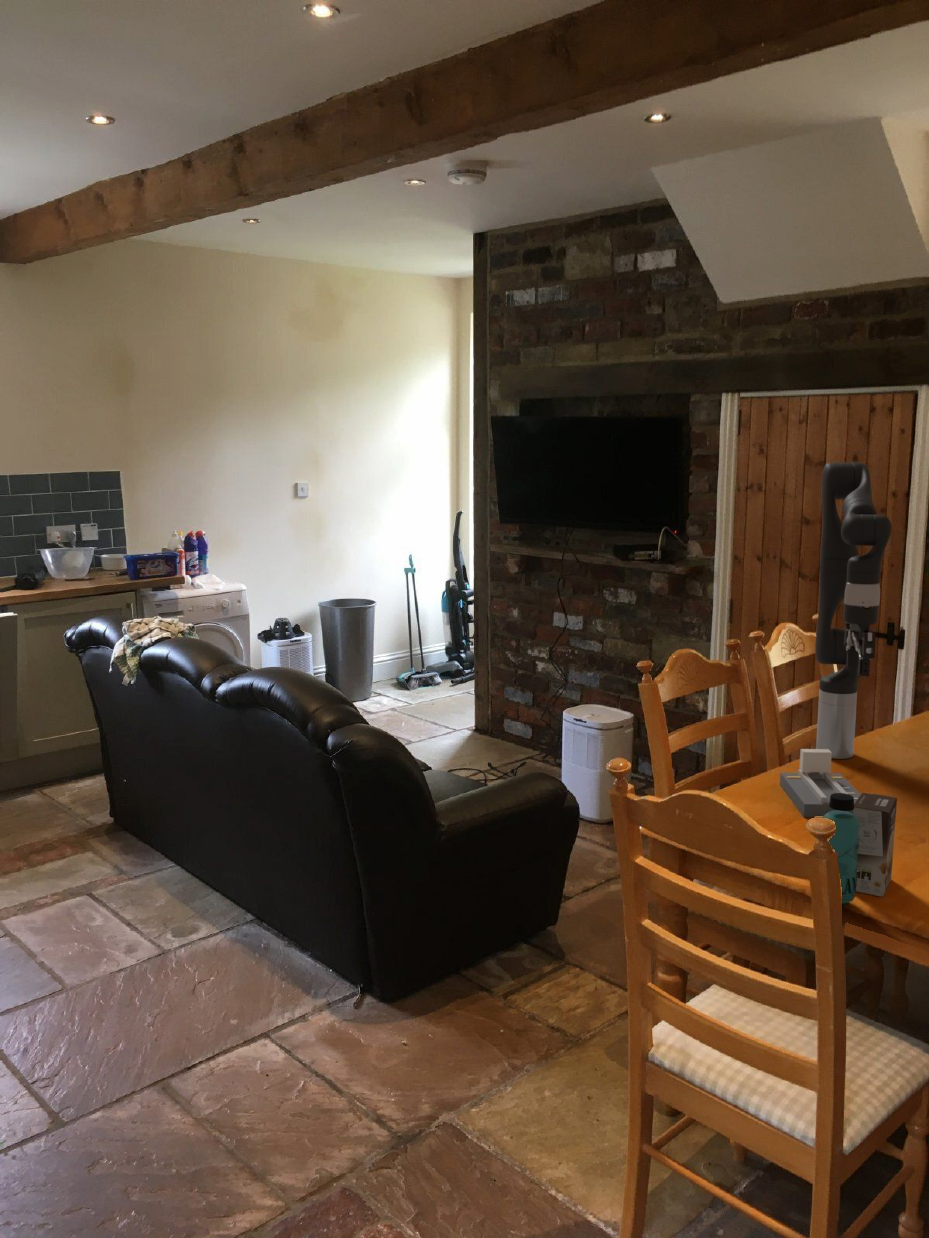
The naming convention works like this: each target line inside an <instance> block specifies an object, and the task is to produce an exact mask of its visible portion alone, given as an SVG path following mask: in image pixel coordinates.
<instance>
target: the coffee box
mask: <svg viewBox="0 0 929 1238" xmlns="http://www.w3.org/2000/svg"><path fill="white" fill-rule="evenodd" d="M860 794H861V795H860V797H859V798H858V799H857V801H856V802H855V804H854V810H853V815H854V816H855V817H856V818H857V819H858V820H859V822H860V825H859V839H858V842H859V845H858V846H859V847H858V848H859V849H858V851H859V853H858V856H857V860H858V861H857V867H858V868H857V869H858V870H857V871H858V872H857V882H856V883H857V886H856V891H855V893H863V894H866V895H871V896H877V897H884V895H885V893H886V892H887V888H888V886H890V882H891V881H892V876H893V860H894V846H895V844H894V843H895V831H896V820H897V819H896V818H897V804H898V797H894V796H889V795H883V794H876V793H866V792H861V793H860Z"/></svg>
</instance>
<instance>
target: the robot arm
mask: <svg viewBox="0 0 929 1238" xmlns="http://www.w3.org/2000/svg"><path fill="white" fill-rule="evenodd" d="M870 473H871V472H870V470H869V467H868V466H867V465H866V464H865V463H862V462H828V463H826V464H825V465H824V467H823V470H822V475H821V505H822V506H821V510H822V511H821V512H822V513H821V515H822V516H821V517H822V519H821V520H822V522H821V523H822V527H821V542H820V543H821V544H820V555H819V556H820V559H819V601H818V602H819V604H818V613H817V615H818V616H817V623H816V624H817V625H816V632H815V633H816V634H815V635H816V636H815V647H814V651H815V658H816V661H817V662H818V663H819V664H822V665H842V666H843V667H841V668H840V669H839V670H838V671H836V672H835V671H834V672H833V673H830V674H826V675H823V676H822V677H821V678H820V679H819V687H818V704H817V705H818V706H817V723H816V725H817V727H816V743H815V745H816V746H815V749H829V750H830V751H831V752H832V756H831V759H833V760H834V759H836V760H838V759H839V760H842V759H843V760H845V759H851V758H853V756H854V753H855V752H854V749H855V737H856V735H855V734H856V733H855V732H856V721H857V720H856V719H857V717H856V715H857V698H858V686H859V685H858V683H859V676H860V677H868V676H869V675H870V667H871V665H870V664H871V660H873V659H874V660H875V657H876V636H877V634H876V631H875V632H874V631H871V626H872V625H874V626H875V625H876V624H878V623H879V618H880V617H879V614H880V601H881V587H880V585H881V584H880V581H881V580H880V579H881V567H882V561H883V557H884V554H885V551H886V549H887V546H888V543H889V540H890V537H891V535H892V531H893V525H892V522H891V520H890V518H889V517H888V516H887V515H885V514H878V512H877V509H876V507H875V504H874V501H873V491H872V490H873V489H872V482H871V475H870ZM836 500H843V502H842V505H841V512H842V515H843V517H844V518H843V521H842V519H841V517H840V514H839V512H838V509H837V508H838V507H837V503H836ZM858 546H860V547H864V546H865V547H866V546H867V547H871V546H872V547H871V549H870V551H868V552H867V553H865V554H861V555H860V554H859V552H860V551H859V549H858ZM842 602H843V613H842V614H843V616H842V620H843V622H844V628H832V623H833V619H834V616H835V614H836V612H837V610H838V608H839V606H840V605H841V604H842Z"/></svg>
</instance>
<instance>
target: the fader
mask: <svg viewBox="0 0 929 1238" xmlns="http://www.w3.org/2000/svg"><path fill="white" fill-rule="evenodd" d="M799 753H800V754H799V769H800V770H801V771H802V772H806V773H807V775H808V776H809V777H810V778H811V779H812V780H823V775H822V774H821V773H820V772H828V773H832V771H831V770H832V758H831V756H832V752H831V751H830V750H829V749H816V748H800V752H799Z"/></svg>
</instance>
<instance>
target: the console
mask: <svg viewBox="0 0 929 1238" xmlns="http://www.w3.org/2000/svg"><path fill="white" fill-rule="evenodd" d="M820 773H821V774H822V775H823V780H812V779H811V778H810V777H809V776H808V775H807V772H802V771H801V770H800V768H799V769H797V772H780V774H779V775H780V776H779V786H780V787H781V788H782V790H783V791H784V792H785V794H786V795H787V796H788V798H789V800H791V802H792V803H793V805H794V806H795V807H796V808H797V810H798V812H799V813H800V814H801V815H802V817H803V818H816V817H815V816H824V815H825V814H827V813H828V812H830V811H833V810H835V809H832V808H830V807H829V802H830V796H831V794H834V793H845V794H849V795H851V796H853V798H854V804H855V802H856V801H857V799H858V798H859V797H860V795H861V794H862V793H860V792H859V791H858V790H857V789H856V788H855V787H854V785H852V784H851V783H850V781H848V779H846V777H845V776H844V775H843V774H842V773H838V772H837V773H835V772H820ZM847 812H850V813H852V814H853V810H851V811H847Z"/></svg>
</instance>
